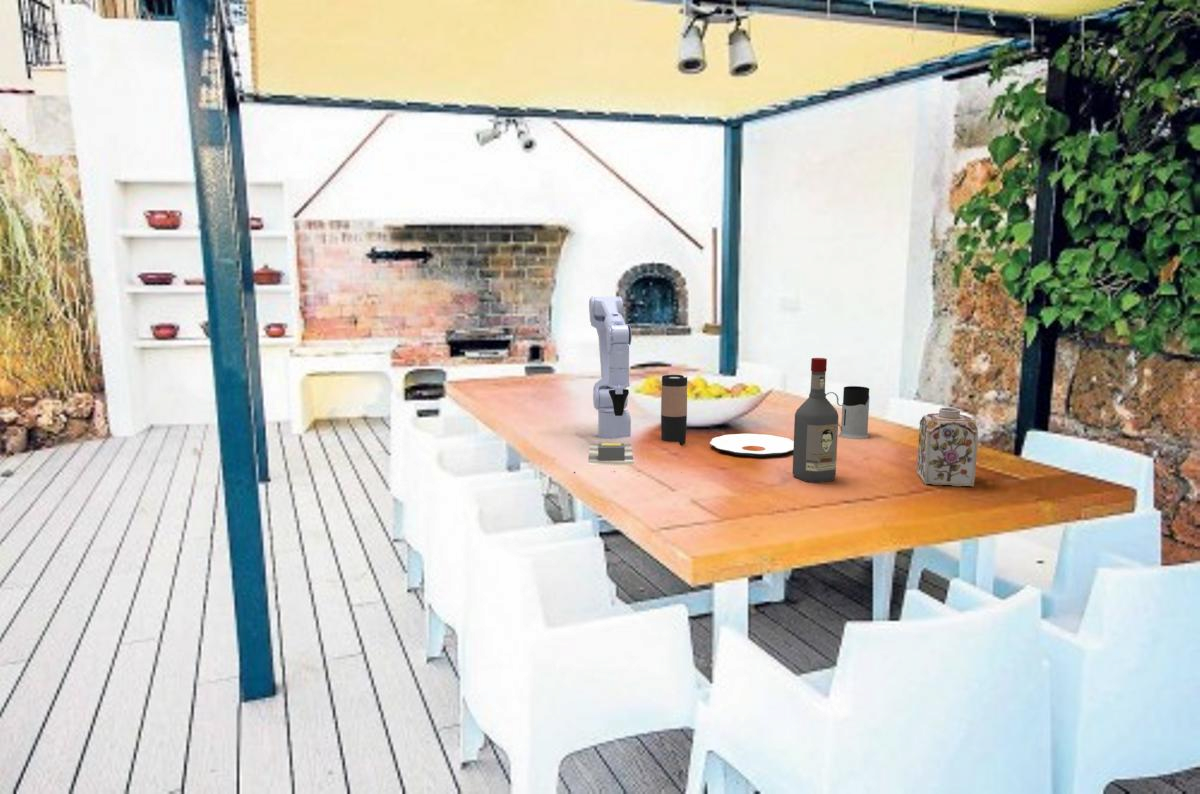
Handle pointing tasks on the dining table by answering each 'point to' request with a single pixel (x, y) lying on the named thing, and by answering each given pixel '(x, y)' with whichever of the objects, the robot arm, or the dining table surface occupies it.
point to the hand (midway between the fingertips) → (618, 415)
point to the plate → (753, 444)
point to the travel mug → (674, 408)
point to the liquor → (816, 431)
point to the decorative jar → (947, 448)
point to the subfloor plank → (594, 452)
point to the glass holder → (854, 412)
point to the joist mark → (597, 458)
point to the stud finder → (611, 452)
